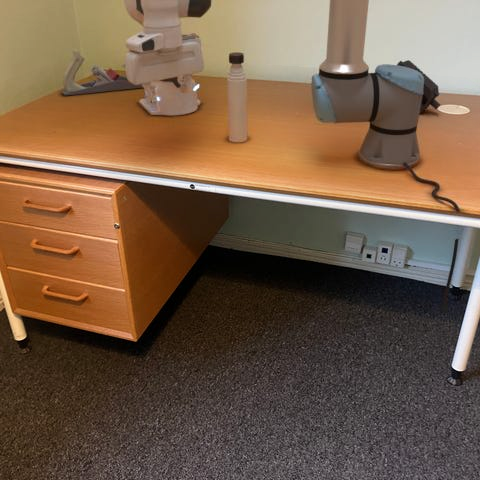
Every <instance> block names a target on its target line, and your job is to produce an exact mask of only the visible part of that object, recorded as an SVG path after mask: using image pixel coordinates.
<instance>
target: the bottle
mask: <svg viewBox="0 0 480 480" xmlns="http://www.w3.org/2000/svg"><path fill="white" fill-rule="evenodd" d="M226 88H227V89H226V91H227V93H226V94H227V122H228V123H227V124H228V125H227V126H228V127H227V128H228V140H229V141H230V142H231V143H244V142H247V140H248V78H247V74H246V72H245V69H244V68H243V65H242V63H241V64H231V65H230V68H229V71H228V74H227V78H226Z"/></svg>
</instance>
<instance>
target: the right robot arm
mask: <svg viewBox="0 0 480 480" xmlns="http://www.w3.org/2000/svg"><path fill="white" fill-rule="evenodd" d="M369 2H370V0H329V6H328V7H329V9H328V24H327V42H326V55H325V56H326V57H325V60H323V61H322V62H321V63H320V64H319V66H318V73H315V74H312V76H311V83H310V85H311V87H310V88H311V99H312V106H313V111H314V114H315V118H316V119H317V120H318V121H319V122H320V123H323V124H334V125H337V124H350V123H351V124H353V123H369V126H368V130H367V132H366V135H364V136H365V137H364V138H363V141H362V143H361V145H360V147H359V151H358V159H359V160H360V162H362V163H363V164H364V165H367V166H369V167H372V168H374V169H378V170H385V171H403V170H408V171H409V173H410V174H411V175H412V177H413V178H414V179H415V180H417V181H418V182H421V183H425V184H430V185H434V186H435V187H434V189H433V190H432V191H431V195H432V197H433V198H435V199H437V200H439V201H444V202H447V203H449V204H451V205H452V206H453V207H454V209H455V211H456V213H457V212H458V213H460V212H461V210H460V208H459V206H458V204H457V203H456V201H454V200H453V199H451V198H448V197H444V196H440V195H438V194H436V193H437V192H438V190H440V188H441V187H440V184H439V183H438V182H437V181H434V180H430V179H424V178H421V177H419V176H418V175H417V174H416V173H415V172H414V169H412V168H414V167H416V166H418V164H419V163H420V158H421V156H420V155H421V153H420V151H421V150H420V146H419V140H418V135H417V130H418V124H419V119H420V113H419V112H420V107H421V101H422V95H423V93H424V92H423V86H424V77H423V75H422V74H421V73H420V72H418V71H416V70H414V69H411V68H408V67H403V66H398V65H397V64H386V63H385V64H379V65H377V66H376V68H375V69H374V72H369V69H370V67H369V65H368V64H367V62H366V61H365V60H364V54H365V53H364V52H365V46H366V45H365V43H366V33H367V24H368V23H367V22H368V13H369ZM459 239H460V238H459V237H458V238H456V239H454V245H453V252H452V260H451V264H450V268H449V273H448V278H447V281H446V285H445V288H444V289H445V290H444V293H443V298H442V303H441V307H440V313H444V312H445V308H446V303H447V299H448V295H449V291H450V286H451V282H452V279H453V274H454V270H455V265H456V261H457V260H456V259H457V254H458V249H459Z"/></svg>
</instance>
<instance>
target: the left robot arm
mask: <svg viewBox="0 0 480 480" xmlns="http://www.w3.org/2000/svg"><path fill="white" fill-rule="evenodd" d="M124 7H125V9H126V12H127V13H128V15H129V16H130V18H131V19H133V20H134V21H135V22H137V23H138V24H139V25H141V26H142V27H143V30H140V31H139V32H138V33H135V34H134V35H132V36H131V37H130V36H129V38H127V39H126V40H125V47H126V48H127V52H126V54H125V57H124V58H125V61H124V63H125V65H124V66H125V75H126V76H125V77H126V78H127V79H128V81H129V82H130V83H132V84H135V85H139V84H142V86H143V89H144V90H143V96H144V98H141V99H139V100H138V103H139V105H140V106H141V107H142V108H143V109H145V110H146V112H147V113H149V115H151V116H183V115H188V114H191V113H193V112H196V111H197V110H198V108H199V106H200V105H201V103H202V102H201V100H200V99H198V93H197V89H199V88H200V83H199V84H196V81H195V79H193V74H197V73H202V72H203V70H204V68H205V63H204V62H205V60H204V56H203V51H202V39H201V37H200V36H199V35H197V34H196V33H195V32H194V33H189V34H183V33H182V31H183V30H182V21H181V19H183V18H184V19H185V18H197V19H201V18H202V17H203V16H204V15H205V14H206V13H208V12H209V10H210V9H211V8H212V0H124Z"/></svg>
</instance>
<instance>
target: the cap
mask: <svg viewBox="0 0 480 480" xmlns="http://www.w3.org/2000/svg"><path fill="white" fill-rule="evenodd" d="M228 63H229V64H231V65H232V64H241V65H242V64H244V63H245V54H244V53H243V52H238V51H237V52H234V51H233V52H230V53H228Z"/></svg>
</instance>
